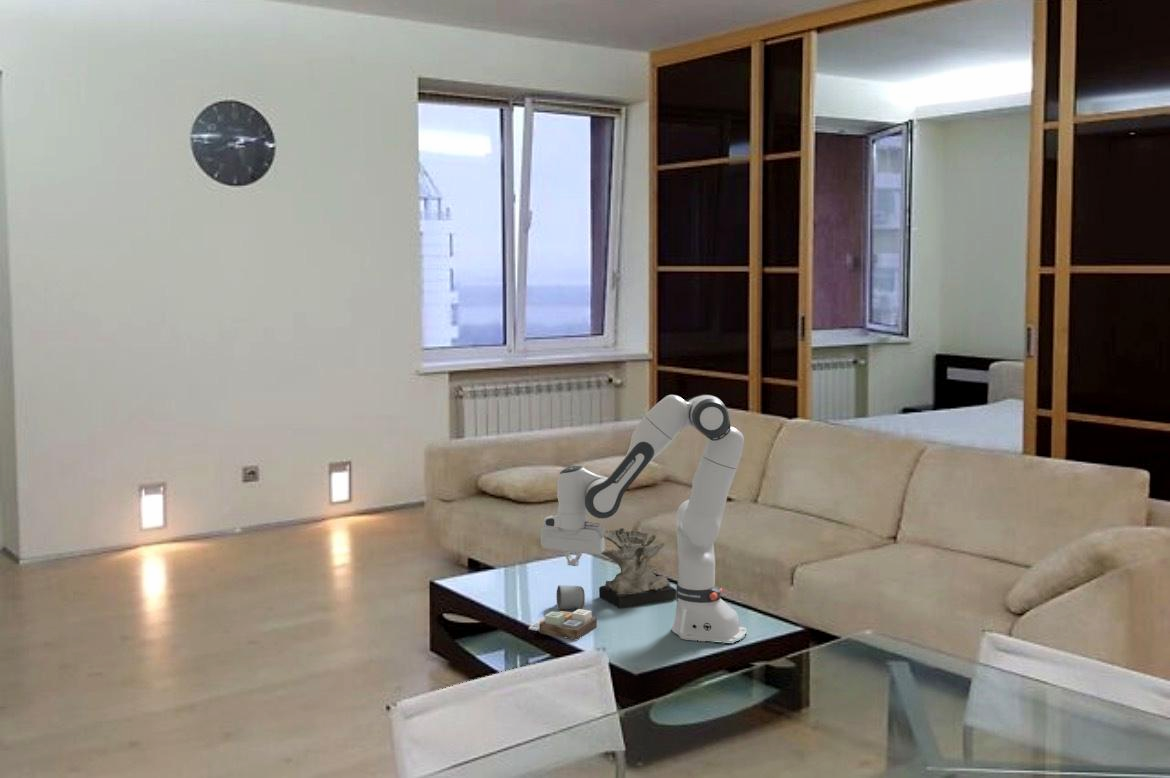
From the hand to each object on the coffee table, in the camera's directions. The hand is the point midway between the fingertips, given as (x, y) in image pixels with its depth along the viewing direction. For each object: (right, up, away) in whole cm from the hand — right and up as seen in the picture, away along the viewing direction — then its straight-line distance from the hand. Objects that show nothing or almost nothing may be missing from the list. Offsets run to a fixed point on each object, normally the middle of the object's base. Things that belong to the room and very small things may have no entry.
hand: (573, 565), depth 348 cm
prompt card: (-10, -19, +7) cm, 23 cm away
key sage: (-5, -18, +1) cm, 19 cm away
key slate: (0, -20, -2) cm, 20 cm away
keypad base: (-2, -20, +2) cm, 20 cm away
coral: (+18, -16, +36) cm, 43 cm away
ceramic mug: (-2, -17, +24) cm, 30 cm away
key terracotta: (-3, -19, +6) cm, 20 cm away
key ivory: (+3, -18, +3) cm, 18 cm away
